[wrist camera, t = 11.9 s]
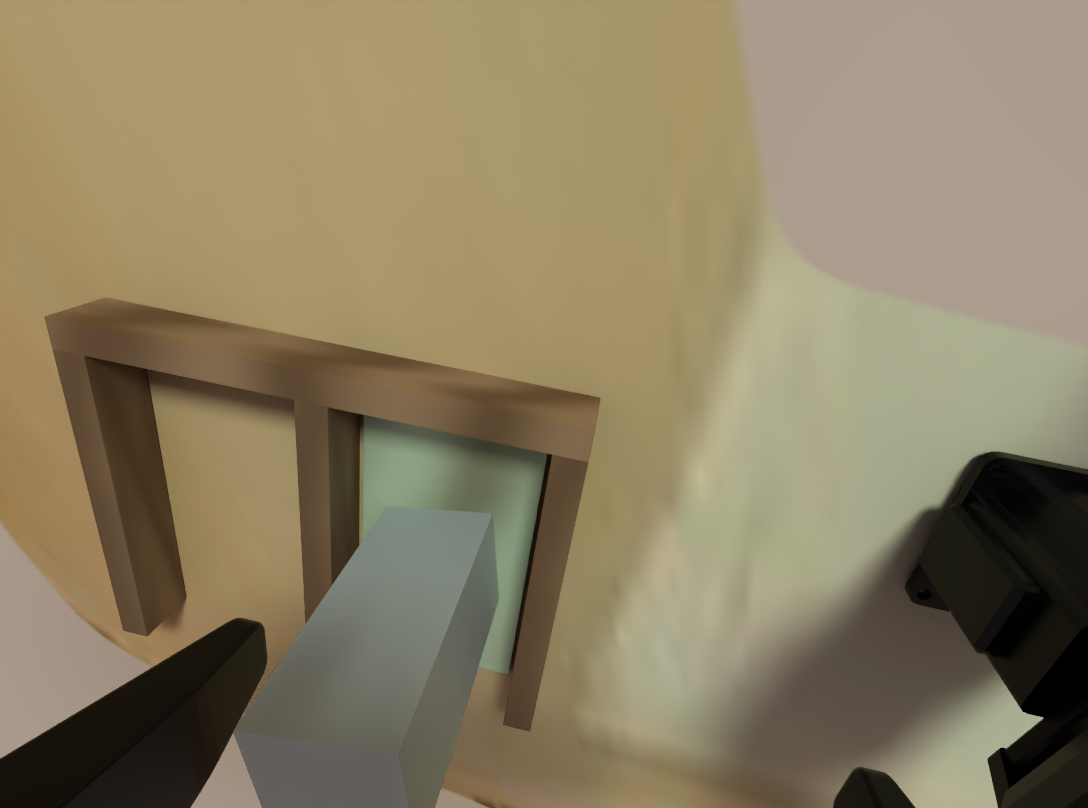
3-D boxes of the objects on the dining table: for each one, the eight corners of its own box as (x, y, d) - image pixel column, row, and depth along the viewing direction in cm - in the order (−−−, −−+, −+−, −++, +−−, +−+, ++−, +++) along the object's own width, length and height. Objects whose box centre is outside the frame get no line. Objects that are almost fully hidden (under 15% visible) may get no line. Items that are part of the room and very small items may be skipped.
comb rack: (600, 397, 21) (595, 430, 18) (539, 682, 27) (530, 731, 25) (105, 297, 22) (44, 316, 20) (163, 591, 29) (123, 630, 27)
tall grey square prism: (492, 513, 23) (398, 754, 14) (499, 598, 25) (419, 857, 16) (386, 505, 24) (232, 730, 15) (400, 589, 26) (272, 833, 17)
